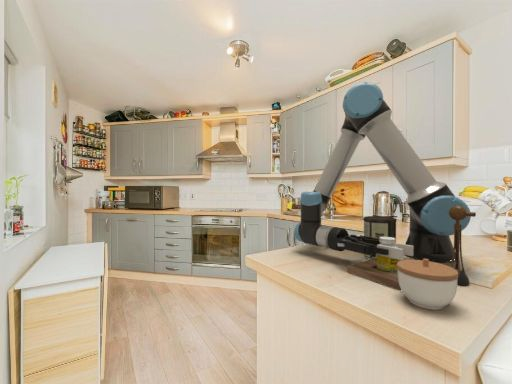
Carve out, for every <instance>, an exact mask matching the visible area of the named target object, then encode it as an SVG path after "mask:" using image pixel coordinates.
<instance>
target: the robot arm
mask: <svg viewBox="0 0 512 384" xmlns="http://www.w3.org/2000/svg"><path fill="white" fill-rule="evenodd" d="M383 94H384V93H383V92H382V90H381V87H380V86H379V85H378V84H376V83H373V82H371V81H368V82H367V81H364V82H359V83H357V84H355V85H354V84H353V86H352V87H350V88H349V89H348V90H347V91H346V93H345V94H344V97H343V100H342V109H343V112H344V121H343V124H342V126H341V129H340V132H341V134H340V137H339V138H338V140H337V143H336V144H335V146H334V149H333V150H332V152H331V155H330V156H329V159H328V161H326V162H327V163H326V164H325V167H324V169H323V171H322V173H321V175H320V177H319V179H318V181H317V183H316V185H315V187H314V188H313V191H303V192H301V193H300V201H299V202H300V220H299V221H300V222H298V223H297V224H296V225H295V228H294V230H293V235H294V238H295V239H296V240H297V241H298V242H301V243H304V244H306V245H312V246H317V247H321V248H324V249H325V250H328V249H329V250H332V251H336V252H344V251H349V252H354V253H357V254H361V255H362V254H363V255H364V254H366V255H370V254H372V257H376V253H377V255H381V256H385V257H390V258H394V259H398V261H402V260H405V258H404V256H407V257H409V258H412V259H415V260H423V259H429V261H430V262H435V263H448V262H447V261H450V260H452V259H453V250H454V244H453V243H452V240H451V237H450V236H454V224H456V220H454V219H452V218H451V217H450V216H449V210H450V208H451V207H453V206H457V205H458V206H462V207H464V208H465V209H466V211H467V212H471V209H470V208H469V206H468V204H467V203H466V202H465V201H463V200H462V199H461V198H460V197H457V196H455V194H454V193H453V191H452V189H451V188H450V187H449V186H448V185H447V183H445V182H443V181H442V182H441V181H437V179H436V178H435V177H434V176H433V174H432V173H431V172H430V171H429V169H428V167H427V166H426V165H425V163H424V162H423V161H422V159H421V158H420V157H419V155H418V154H417V153H416V151H415V150H414V149H413V147H412V146H411V145H410V143H409V142H408V141H407V139H406V137H404V135H403V133H402V132H401V130H400V129H399V127H397V125H396V124H395V122H394V121H393V120H392V118H391V116H392V112H393V111H392V109H391V108H390V106H389V105H388V104H387V103H386V101H385V100H384V95H383ZM365 138H367V139H368V140H369V142H370V143H371V144H372V146H373V147H374V150H376V152H377V153H378V156H380V157H381V159H382V160H383V162H384V164H386V165H385V166H387V168H388V169H389V170H390V173H392V175H393V176H394V177H395V179H396V180H397V182H398V183H399V185H400V186H401V188H402V189H403V190H404V192H405V193H406V195H407V197H406V204H407V206H408V207H409V233H408V236H407V239H406V240H405V244H404V243H399V242H396V243H395V244H394V245H395V246H397V247H398V248H394V247H389V246H384V245H379V244H381V243H380V242H379V238H372V237H366V236H364V235H363V234H360V235H356V234H349V232H348V231H347V229H345V228H342V227H336V226H335V227H334V226H330V225H323V224H322V213H324V212H325V211H326V209H327V208H328V204H329V202H330V200H331V198H332V195H333V194H334V192H335V190H336V188H337V186H338V184H339V183H340V180H341V179H342V176H343V175H344V173H345V171H346V169H347V167H348V165H349V163H350V161H351V160H352V157H353V155H354V153H355V151H356V149H357V147H358V146H359V143H361V141H363V140H365ZM470 221H471V216H467V217H466V218H465V219H464V220H460V224H461V232H462V231H464V230H465V229H466V228H467V227H468V226H469V224H470ZM454 259H455V258H454Z"/></svg>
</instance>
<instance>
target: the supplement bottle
mask: <svg viewBox="0 0 512 384" xmlns="http://www.w3.org/2000/svg"><path fill="white" fill-rule="evenodd" d="M379 242H380V243H381V244H379V245H384V246H389V247H394V248H398V247H397V246H395V245H394V244H395V243H397V238H396V239H395V238H392V237H380V238H379ZM397 262H399V259H394V258H390V257H385V256H381V255H377V269H378V270H381V271H385V272H388V273H391V274H394V273H397Z"/></svg>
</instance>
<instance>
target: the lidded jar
mask: <svg viewBox="0 0 512 384" xmlns="http://www.w3.org/2000/svg"><path fill="white" fill-rule="evenodd" d="M397 276H398V282H399V286H400V288H401V290H402V291H401V292H402V293H403V295H404V296H405V297H406V298H407V299H408V301H409V302H410V303H411V304H413V305H415V306H417V307H419V308H421V309H422V308H423V309H426V310H433V311H437V310H443V308H444V307H445V306H447V305H449V304H450V303H452V302H453V301H454V298H455V296H456V294H457V291H458V286H457V282H458V271H457V270H455V267H453V268H452V267H451V266H450V265H446V264H443V263H441V262H433V261H429V259H423V260H420V259H404V260H398V262H397Z"/></svg>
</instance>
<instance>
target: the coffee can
mask: <svg viewBox="0 0 512 384" xmlns="http://www.w3.org/2000/svg"><path fill="white" fill-rule="evenodd" d="M362 219H363V236H366V237H372V238H380V237H392V238H395V239H396V240H397V218H395V217H389V216H388V217H387V216H364V217H363V218H362ZM363 258H364V259H366V260H371V259H375V258H377V253H376V257H372V254H370V255H366V254H363Z"/></svg>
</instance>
